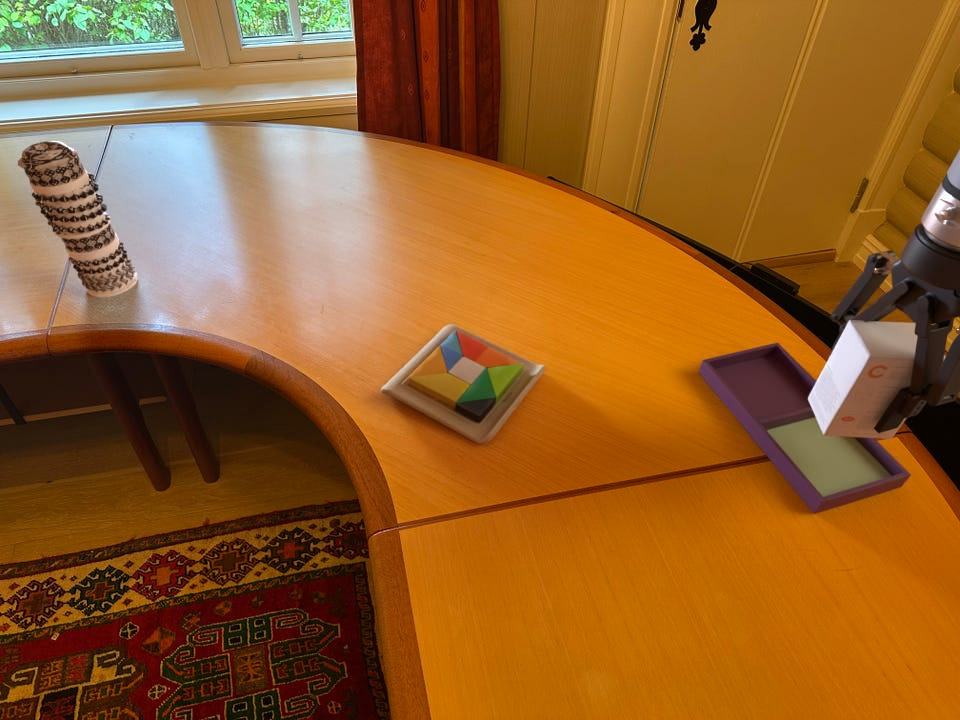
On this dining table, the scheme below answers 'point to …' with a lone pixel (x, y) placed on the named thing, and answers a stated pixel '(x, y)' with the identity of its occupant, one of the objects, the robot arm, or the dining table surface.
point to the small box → (864, 378)
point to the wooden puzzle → (465, 383)
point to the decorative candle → (78, 217)
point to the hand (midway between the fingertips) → (858, 401)
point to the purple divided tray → (798, 429)
